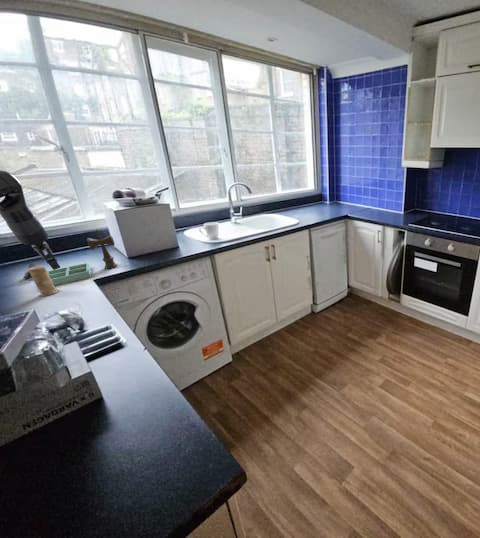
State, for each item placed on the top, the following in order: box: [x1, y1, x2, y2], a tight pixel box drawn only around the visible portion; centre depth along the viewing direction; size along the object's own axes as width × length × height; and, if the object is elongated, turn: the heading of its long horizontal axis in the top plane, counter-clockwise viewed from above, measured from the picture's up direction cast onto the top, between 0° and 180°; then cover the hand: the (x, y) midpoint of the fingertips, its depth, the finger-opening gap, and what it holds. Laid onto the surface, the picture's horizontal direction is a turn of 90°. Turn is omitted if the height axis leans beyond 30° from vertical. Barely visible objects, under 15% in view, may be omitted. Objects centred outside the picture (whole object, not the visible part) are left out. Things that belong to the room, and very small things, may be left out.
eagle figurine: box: [23, 262, 36, 279], centre depth 140 cm, size 8×7×9 cm
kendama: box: [86, 229, 118, 269], centre depth 147 cm, size 6×10×20 cm, turn 127°
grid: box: [47, 262, 92, 287], centre depth 140 cm, size 15×15×3 cm
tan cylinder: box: [27, 265, 58, 297], centre depth 123 cm, size 5×5×12 cm
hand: (52, 263), depth 114 cm, fingers open, 8 cm apart
